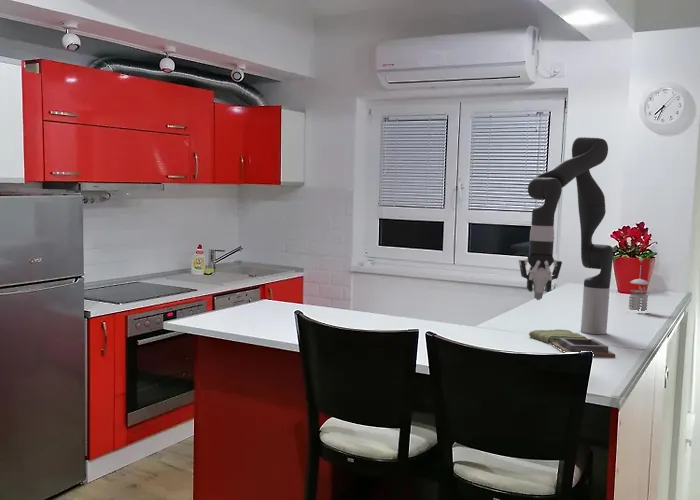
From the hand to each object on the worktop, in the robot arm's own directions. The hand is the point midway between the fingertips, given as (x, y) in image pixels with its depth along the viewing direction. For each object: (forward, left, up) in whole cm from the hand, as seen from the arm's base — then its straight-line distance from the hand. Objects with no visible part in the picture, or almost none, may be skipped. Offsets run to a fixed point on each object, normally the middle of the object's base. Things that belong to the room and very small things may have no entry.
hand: (538, 291), depth 226 cm
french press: (-85, +76, -19) cm, 116 cm away
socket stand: (+2, +15, -19) cm, 24 cm away
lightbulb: (0, 0, -3) cm, 3 cm away
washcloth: (-16, +14, -20) cm, 29 cm away
